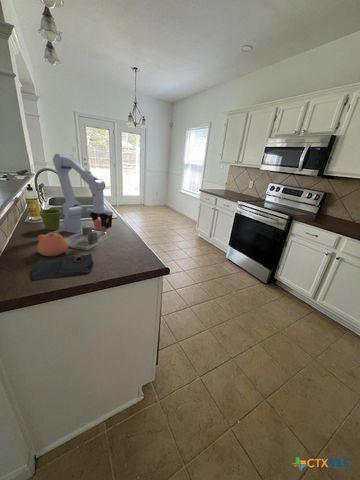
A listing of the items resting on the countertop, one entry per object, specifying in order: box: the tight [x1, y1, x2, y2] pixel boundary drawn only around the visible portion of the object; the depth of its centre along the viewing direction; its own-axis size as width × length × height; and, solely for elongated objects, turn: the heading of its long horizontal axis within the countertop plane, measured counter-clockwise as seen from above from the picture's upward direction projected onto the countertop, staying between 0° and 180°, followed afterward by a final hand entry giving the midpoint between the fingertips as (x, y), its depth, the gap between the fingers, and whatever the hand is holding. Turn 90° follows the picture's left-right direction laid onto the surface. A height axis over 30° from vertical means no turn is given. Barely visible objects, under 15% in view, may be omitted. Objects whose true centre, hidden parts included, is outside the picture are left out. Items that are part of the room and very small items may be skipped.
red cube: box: [93, 218, 105, 230], centre depth 115 cm, size 4×4×4 cm
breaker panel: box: [64, 229, 114, 252], centre depth 113 cm, size 18×24×2 cm
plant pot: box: [37, 208, 62, 231], centre depth 124 cm, size 12×12×11 cm
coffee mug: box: [98, 211, 113, 229], centre depth 137 cm, size 12×9×10 cm
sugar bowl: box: [37, 231, 69, 257], centre depth 94 cm, size 12×14×10 cm
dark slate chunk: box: [30, 253, 94, 282], centre depth 83 cm, size 15×22×5 cm
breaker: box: [81, 225, 92, 234], centre depth 119 cm, size 3×4×4 cm
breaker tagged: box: [88, 232, 97, 241], centre depth 110 cm, size 3×4×4 cm
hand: (100, 225), depth 115 cm, fingers closed on red cube, 4 cm apart
